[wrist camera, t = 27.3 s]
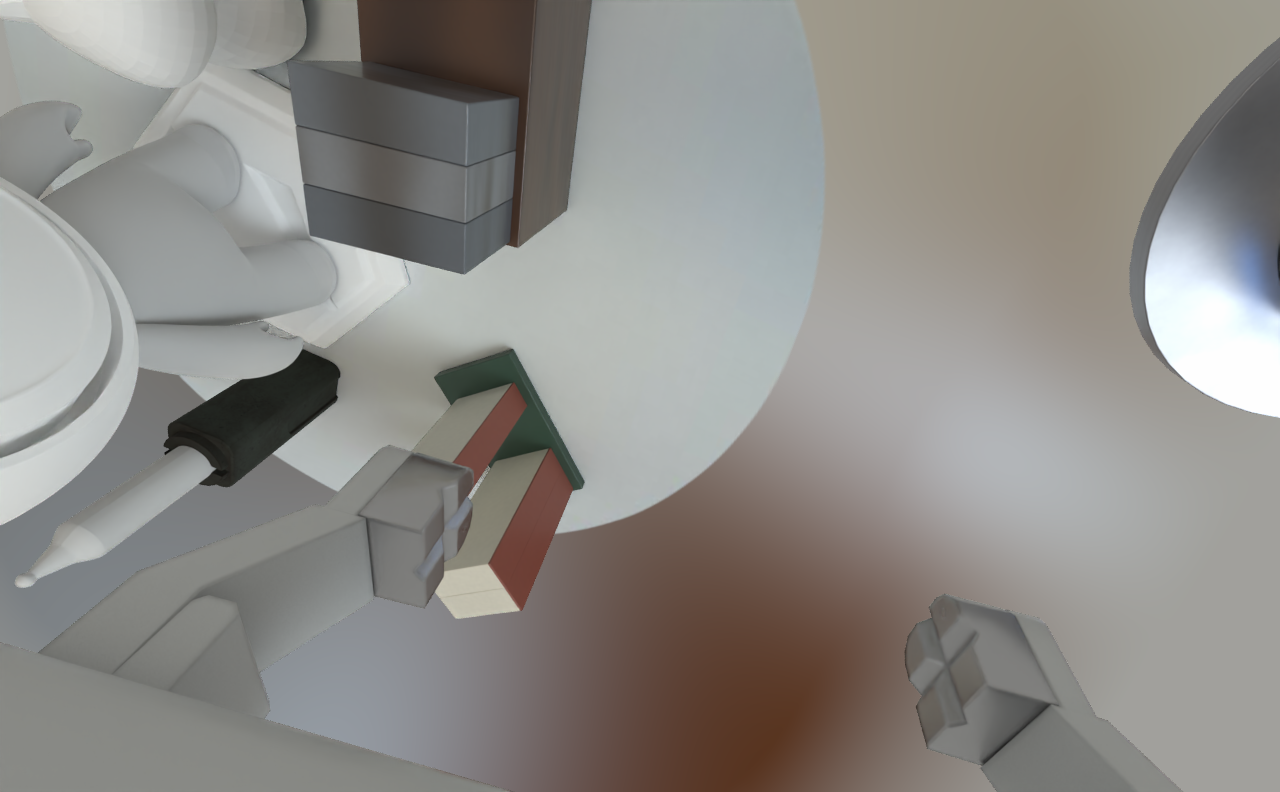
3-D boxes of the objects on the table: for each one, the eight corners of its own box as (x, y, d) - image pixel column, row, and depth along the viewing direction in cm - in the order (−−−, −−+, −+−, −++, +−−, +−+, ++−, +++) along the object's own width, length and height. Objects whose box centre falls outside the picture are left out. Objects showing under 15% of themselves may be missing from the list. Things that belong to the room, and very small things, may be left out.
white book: (514, 382, 47) (436, 486, 36) (527, 405, 48) (455, 514, 37) (456, 398, 49) (364, 502, 38) (470, 421, 50) (385, 529, 39)
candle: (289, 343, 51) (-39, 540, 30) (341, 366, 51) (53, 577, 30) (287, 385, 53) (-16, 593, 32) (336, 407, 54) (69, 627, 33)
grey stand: (602, -91, 31) (489, -214, 18) (567, 210, 40) (474, 282, 27) (451, -124, 31) (228, -269, 18) (450, 181, 41) (299, 238, 27)
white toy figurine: (457, 247, 43) (-187, 639, 13) (294, 373, 52) (-297, 768, 23) (255, -10, 36) (-1970, -369, 7) (109, 188, 46) (-1078, 408, 16)
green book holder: (513, 348, 47) (425, 452, 34) (584, 482, 53) (533, 611, 41) (438, 372, 50) (332, 477, 37) (515, 496, 56) (447, 623, 43)
